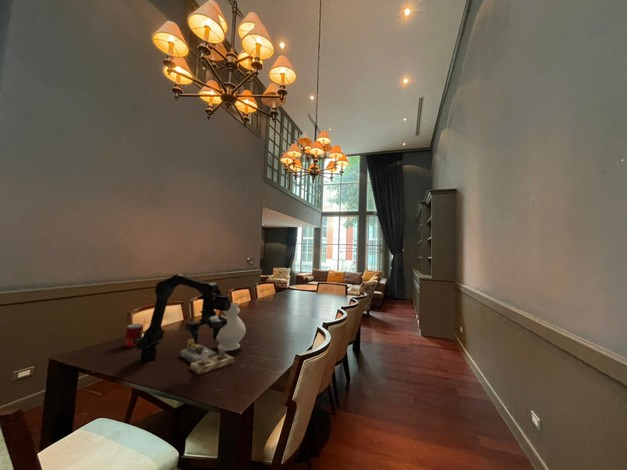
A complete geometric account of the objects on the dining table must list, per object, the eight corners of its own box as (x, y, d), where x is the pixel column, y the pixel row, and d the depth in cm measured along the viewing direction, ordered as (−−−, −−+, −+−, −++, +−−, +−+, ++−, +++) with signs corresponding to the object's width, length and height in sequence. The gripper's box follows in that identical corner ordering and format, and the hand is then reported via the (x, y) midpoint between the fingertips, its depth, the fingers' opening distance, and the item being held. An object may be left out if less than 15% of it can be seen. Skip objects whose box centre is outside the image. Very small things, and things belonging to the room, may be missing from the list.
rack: (198, 374, 112) (200, 360, 113) (190, 368, 117) (191, 355, 118) (233, 362, 126) (234, 350, 127) (224, 358, 131) (225, 346, 132)
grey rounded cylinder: (202, 370, 116) (203, 352, 117) (199, 368, 118) (200, 351, 119) (208, 368, 119) (209, 351, 119) (205, 366, 121) (206, 349, 121)
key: (194, 351, 130) (195, 343, 130) (187, 347, 135) (187, 340, 135) (202, 349, 133) (203, 341, 133) (195, 345, 138) (195, 338, 138)
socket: (195, 365, 121) (196, 355, 122) (180, 356, 131) (181, 346, 132) (216, 359, 130) (217, 349, 130) (200, 350, 140) (201, 341, 140)
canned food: (135, 347, 140) (137, 327, 141) (121, 346, 140) (123, 326, 141) (144, 343, 147) (146, 324, 148) (131, 342, 147) (133, 323, 148)
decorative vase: (248, 343, 156) (251, 302, 158) (237, 353, 138) (240, 307, 141) (221, 340, 158) (224, 300, 160) (206, 350, 140) (210, 305, 143)
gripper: (197, 314, 109) (194, 351, 108) (234, 309, 124) (232, 342, 122) (185, 310, 116) (182, 345, 115) (222, 305, 131) (219, 336, 129)
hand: (205, 342), depth 120 cm, fingers open, 9 cm apart
